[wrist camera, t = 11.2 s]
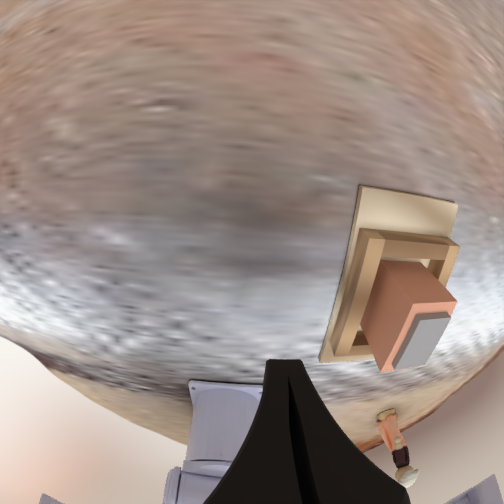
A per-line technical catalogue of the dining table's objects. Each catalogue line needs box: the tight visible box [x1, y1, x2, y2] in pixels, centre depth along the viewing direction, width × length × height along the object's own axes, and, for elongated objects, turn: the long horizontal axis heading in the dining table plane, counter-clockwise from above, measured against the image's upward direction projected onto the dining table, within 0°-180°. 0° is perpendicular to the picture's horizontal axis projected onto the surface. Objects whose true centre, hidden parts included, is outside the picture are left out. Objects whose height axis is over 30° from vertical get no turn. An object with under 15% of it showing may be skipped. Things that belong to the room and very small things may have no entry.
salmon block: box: [360, 260, 457, 372], centre depth 17 cm, size 6×4×6 cm, turn 177°
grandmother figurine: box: [377, 409, 419, 488], centre depth 25 cm, size 8×4×13 cm, turn 41°
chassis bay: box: [319, 185, 460, 363], centre depth 19 cm, size 16×9×2 cm, turn 177°
